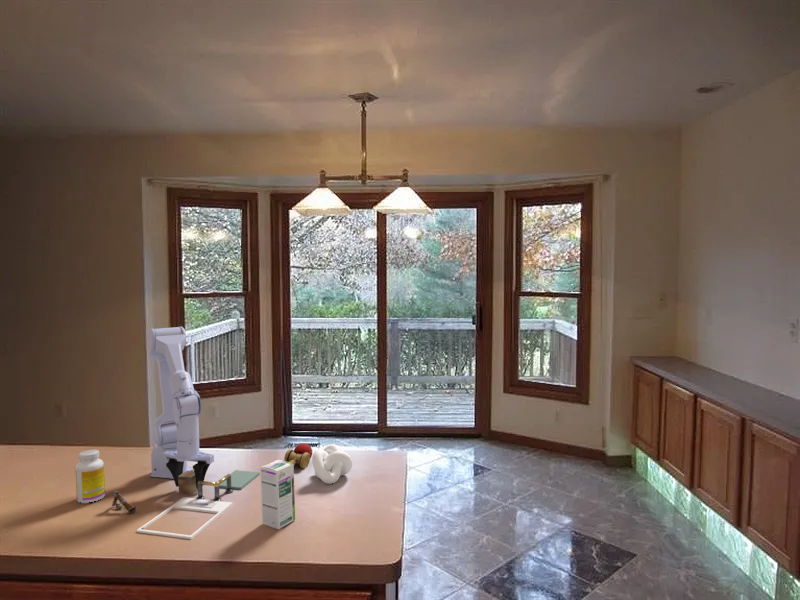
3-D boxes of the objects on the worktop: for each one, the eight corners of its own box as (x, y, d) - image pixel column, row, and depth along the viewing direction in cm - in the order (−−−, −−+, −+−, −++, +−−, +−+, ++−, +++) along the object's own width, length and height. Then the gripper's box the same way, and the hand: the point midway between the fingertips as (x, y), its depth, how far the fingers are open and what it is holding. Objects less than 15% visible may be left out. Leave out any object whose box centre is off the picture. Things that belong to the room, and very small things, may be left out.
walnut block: (178, 493, 147) (178, 476, 146) (187, 487, 151) (187, 470, 150) (191, 495, 146) (191, 477, 145) (200, 489, 150) (199, 471, 149)
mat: (215, 487, 151) (215, 484, 151) (235, 472, 162) (235, 470, 161) (241, 489, 149) (241, 487, 149) (259, 474, 160) (259, 472, 160)
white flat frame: (232, 501, 140) (191, 536, 122) (232, 505, 140) (191, 541, 123) (183, 496, 143) (136, 529, 126) (183, 500, 143) (136, 533, 126)
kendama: (295, 486, 155) (320, 456, 172) (290, 466, 154) (315, 437, 171) (272, 487, 157) (298, 457, 174) (266, 468, 156) (294, 440, 173)
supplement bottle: (110, 496, 145) (109, 450, 144) (87, 506, 139) (85, 458, 138) (94, 491, 148) (92, 446, 147) (71, 501, 142) (68, 454, 141)
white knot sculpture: (353, 470, 163) (353, 441, 162) (351, 486, 151) (350, 455, 150) (316, 470, 163) (316, 442, 162) (311, 487, 151) (310, 456, 150)
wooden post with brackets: (114, 501, 140) (118, 487, 139) (132, 519, 137) (136, 505, 136) (107, 504, 139) (111, 490, 137) (126, 522, 135) (130, 508, 134)
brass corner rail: (194, 500, 142) (194, 481, 142) (211, 488, 150) (211, 469, 150) (218, 503, 141) (218, 483, 140) (234, 490, 148) (233, 472, 148)
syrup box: (278, 530, 126) (277, 470, 125) (261, 523, 130) (260, 465, 128) (295, 520, 131) (294, 463, 130) (278, 514, 134) (277, 458, 133)
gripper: (155, 441, 145) (157, 489, 146) (203, 445, 142) (204, 494, 143) (171, 433, 152) (173, 479, 153) (217, 436, 148) (219, 484, 149)
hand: (189, 486), depth 148 cm, fingers open, 6 cm apart
